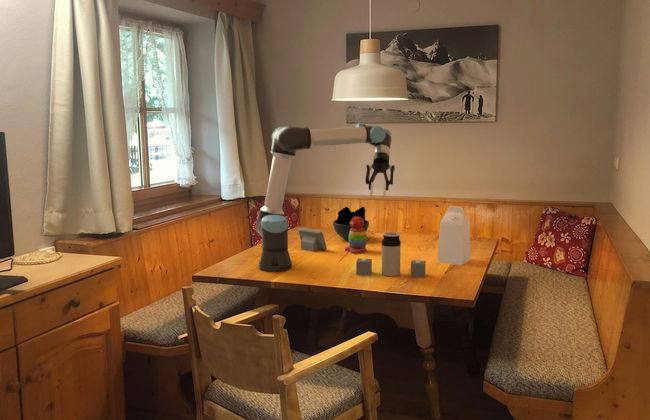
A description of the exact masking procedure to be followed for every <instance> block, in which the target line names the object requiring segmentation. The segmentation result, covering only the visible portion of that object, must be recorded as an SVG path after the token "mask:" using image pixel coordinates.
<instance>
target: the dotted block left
mask: <svg viewBox="0 0 650 420" xmlns="http://www.w3.org/2000/svg"><path fill="white" fill-rule="evenodd" d="M355 263H356V264H355V265H356V267H355V268H356V269H355V270H356V271H355V272H356V273H355V274H356V276H371V275H372V272H373V269H372V268H373V267H372V266H373V259H372V258H359V257H358V258H357V259H356V262H355Z"/></svg>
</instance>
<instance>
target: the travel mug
mask: <svg viewBox="0 0 650 420" xmlns="http://www.w3.org/2000/svg"><path fill="white" fill-rule="evenodd" d="M382 236H383V238H382V240H381V274H382V275H383V276H385V277H392V278H393V277H397V276H400V275H401V242H402V241H401V240H400V236H401V234H400V232H396V231H394V232H393V231H389V232H383V233H382Z"/></svg>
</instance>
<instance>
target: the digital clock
mask: <svg viewBox="0 0 650 420" xmlns="http://www.w3.org/2000/svg"><path fill="white" fill-rule="evenodd" d="M298 235H299V238H300V250H303V251H307V252H317V251H326V250H327V249H328V248H327V243H326V240H325V236H324V233H323V231H322V230H317V229H311V228H310V229H309V228H303V227H299V228H298Z"/></svg>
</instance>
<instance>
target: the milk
mask: <svg viewBox="0 0 650 420" xmlns="http://www.w3.org/2000/svg"><path fill="white" fill-rule="evenodd" d="M470 229H471V223H470V219H469V217H467V215H466V214H465V211H464V209H463V207H462V206H456V205H455V206H453V205H449V206H448V208H447V210H446V212H445V214H444V215H443V216H442V219H441V221H440V224H439V234H438V236H439V237H438V244H437V245H438V246H437V258H436V259H437V260H436V263H442V264H443V263H444V264H451V265H459V266H462V265H464V264H466V263H469V261H471V230H470Z"/></svg>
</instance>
